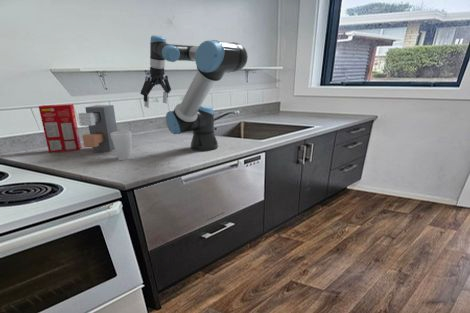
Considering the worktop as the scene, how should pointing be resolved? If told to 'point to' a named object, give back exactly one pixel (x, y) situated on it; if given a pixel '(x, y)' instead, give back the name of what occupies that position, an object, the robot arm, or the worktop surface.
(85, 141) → the terracotta plug
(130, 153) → the foam cup
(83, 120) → the grey plug
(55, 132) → the food packaging
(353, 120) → the worktop surface
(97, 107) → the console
